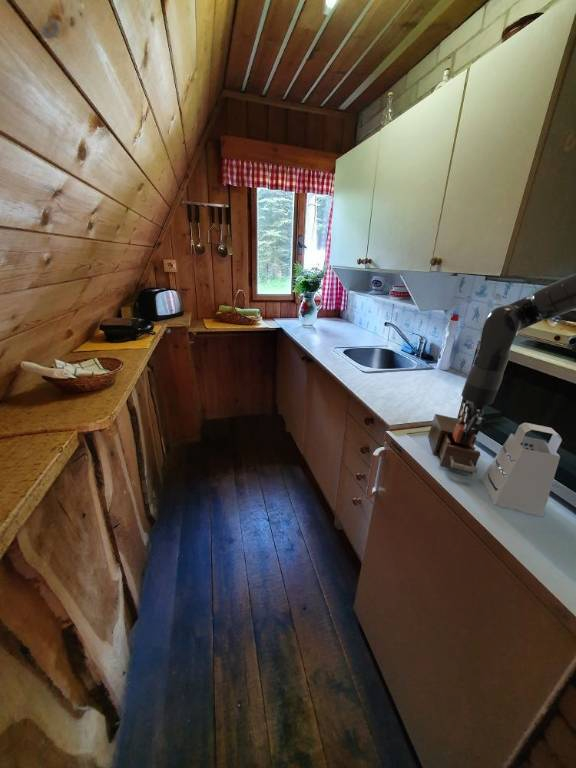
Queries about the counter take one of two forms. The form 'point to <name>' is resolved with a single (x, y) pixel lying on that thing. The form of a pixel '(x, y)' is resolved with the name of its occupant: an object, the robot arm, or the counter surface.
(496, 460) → the grater
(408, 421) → the counter surface
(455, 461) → the drawer
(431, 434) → the cabinet
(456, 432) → the block
